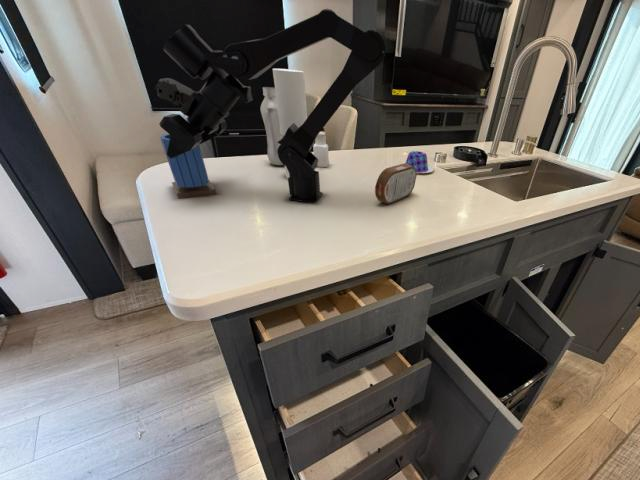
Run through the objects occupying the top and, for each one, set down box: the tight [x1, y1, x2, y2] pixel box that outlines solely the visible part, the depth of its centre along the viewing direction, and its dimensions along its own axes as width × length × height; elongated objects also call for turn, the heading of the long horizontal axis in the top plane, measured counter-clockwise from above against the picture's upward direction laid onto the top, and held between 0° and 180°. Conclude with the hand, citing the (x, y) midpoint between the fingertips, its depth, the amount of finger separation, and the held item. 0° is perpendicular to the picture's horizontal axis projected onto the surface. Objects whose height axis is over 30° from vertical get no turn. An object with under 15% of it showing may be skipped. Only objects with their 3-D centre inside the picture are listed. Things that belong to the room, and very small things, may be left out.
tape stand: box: [171, 179, 217, 199], centre depth 76 cm, size 8×8×6 cm
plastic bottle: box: [259, 86, 284, 166], centre depth 94 cm, size 6×7×20 cm
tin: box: [374, 162, 418, 205], centre depth 82 cm, size 15×3×8 cm, turn 145°
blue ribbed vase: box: [159, 133, 210, 188], centre depth 73 cm, size 7×7×10 cm
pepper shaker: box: [312, 131, 330, 168], centre depth 100 cm, size 4×4×10 cm
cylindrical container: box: [272, 68, 308, 179], centre depth 85 cm, size 7×7×25 cm
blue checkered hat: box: [398, 150, 435, 174], centre depth 107 cm, size 12×12×5 cm
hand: (177, 152), depth 72 cm, fingers closed on blue ribbed vase, 7 cm apart
